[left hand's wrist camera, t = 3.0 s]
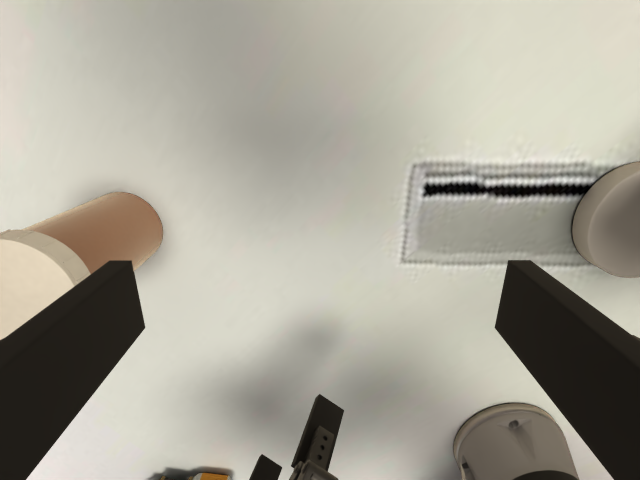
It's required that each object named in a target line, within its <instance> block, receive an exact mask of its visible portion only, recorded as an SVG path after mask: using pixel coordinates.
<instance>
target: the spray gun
mask: <svg viewBox="0 0 640 480" xmlns="http://www.w3.org/2000/svg"><path fill="white" fill-rule="evenodd" d="M160 480H174V479H169V478H165V476H162V478H161V479H160ZM188 480H231V478H230V476H227V475H219V474H210V473H199V474H197V475H196V476H195V477H192V476H191V477H189V479H188Z"/></svg>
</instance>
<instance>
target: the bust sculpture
mask: <svg viewBox="0 0 640 480" xmlns="http://www.w3.org/2000/svg"><path fill="white" fill-rule="evenodd" d="M572 233H573V240H574V243H575V246H576V248H577V250H578V251H579V253H580V254H581V255H582V256H583V257H584V258H585V259H586V260H587V261H589V262H590V263H592V264H594V265H595V266H597V267H599V268H601V269H602V270H604V271H606V272H608V273H610V274H612V275H615V276H619V277H626V278H636V277H640V161H639V162H634V163H630V164H627V165H624V166H621V167H619V168H617V169H615V170H613V171H611V172H609V173H608V174H606V175H605V176H604V177H602V178H601V179H600V180H598V181H597V182H596V183H595V184H594V185H593V186H592V187H591V188H590V189H589V190H588V192H587V193H586V194H585V196H584V197H583V199H582V200H581V202H580V204H579V206H578V208H577V210H576V213H575V216H574V220H573V227H572Z"/></svg>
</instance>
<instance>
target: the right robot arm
mask: <svg viewBox="0 0 640 480" xmlns="http://www.w3.org/2000/svg"><path fill="white" fill-rule="evenodd" d="M343 412H344V410H343V409H341V408H340V407H338V406H337V405H335V404H334V403H332V402H331V401H329V400H328V399H326V398H325V397H323V396H322V395H320V394H319V395H318V396H317V397H316V399H315V401H314V404H313V407H312V410H311V412H310V415H309V418H308V421H307V423H306V426H305V429H304V432H303V435H302V437H301V440H300V443H299V446H298V448H297V451H296V454H295V457H294V459H293V462H292V465H291V467H293V468H294V471H293V473H292V475H291V477H290V479H289V480H338V478H336V477H335V476H333V475H332V474H330V473H329V472H328V468H329V464H330V461H331V457H332V453H333V450H334V446H335V442H336V438H337V435H338V431H339V427H340V424H341V420H342V416H343ZM454 455H455V459H456V461H457V464H458V466H459V469H460V471H461V474H462V480H465V478H466V480H579V478H578V475H577V472H576V469H575V466H574V463H573V460H572V457H571V454H570V451H569V448H568V445H567V442H566V439H565V436H564V434H563V432H562V430H561V429H560V427H559V426H558V425H557V423H556V422H555V421H554V419H553V418H552V417H551V416H550V415H549V414H548V413H547V412H545V411H544V410H542V409H540V408H538V407H535V406H532V405H527V404H517V403H514V404H503V405H498V406H494V407H491V408H489V409H486V410H484V411H482V412H480V413H478V414H476V415H475V416H473V417H472V418H471V419H469V420H468V421H467V422H466V423H465V424H464V425H463V426H462V428H461V429H460V430H459V432H458V434H457V436H456V438H455V441H454ZM281 470H282V467H281V466H279V465H278V464H276V463H275V462H273V461H272V460H270V459H269V458H267V457H266V456H264V455H263V454H262V455H261V456H260V457H259V459H258V461H257V464H256V466H255V468H254V470H253V472H252V475H251V477H250V479H249V480H278V477H279V475H280V472H281Z"/></svg>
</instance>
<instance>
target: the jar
mask: <svg viewBox="0 0 640 480" xmlns="http://www.w3.org/2000/svg"><path fill="white" fill-rule="evenodd" d="M22 230H29V231H35V232H39V233H42V234H45V235H48V236H50V237H52V238H54V239H57V240H58V241H60V242H61V243H63V244H65V245H66V246H67V247H69V248H70V249H71V250H72V251H73V252H74V253H76V254H77V255H78V257H79V258H80V259H81V260H82V261H83V262H84V264H85V265H86V267H87V268H88V270H89V272H90V274H92V273H93V272H95V271H96V270H97V269H99V268H100V267H101V266H103V265H104V264H105V263H107V262H108V261H110V260H132V265H133V270H134V271H135V270H136V269H137V268H138V267H139V266H141V265H142V264H143V263H144V262H145V261H146V260H147V259H148V258H150V257H151V256H152V255H153V254H154V253H155V252H156V251H157V250H158V248H159V246H160V244H161V242H162V237H163V229H162V224H161V221H160V218H159V216H158V215H157V213H156V211H155V210H154V209H153V208H152V207H151V206H150V205H149V204H148V203H147V202H146V201H144V200H143V199H141V198H139V197H138V196H135V195H133V194H129V193H124V192H113V193H109V194H106V195H104V196H101V197H99V198H96V199H94V200H92V201H89V202H87V203H84V204H82V205H80V206H77V207H75V208H72V209H70V210H68V211H65V212H63V213H60V214H58V215H56V216H53V217H51V218H48V219H46V220H44V221H41V222H39V223H36V224H34V225H32V226H29V227H27V228H24V229H22Z"/></svg>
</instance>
